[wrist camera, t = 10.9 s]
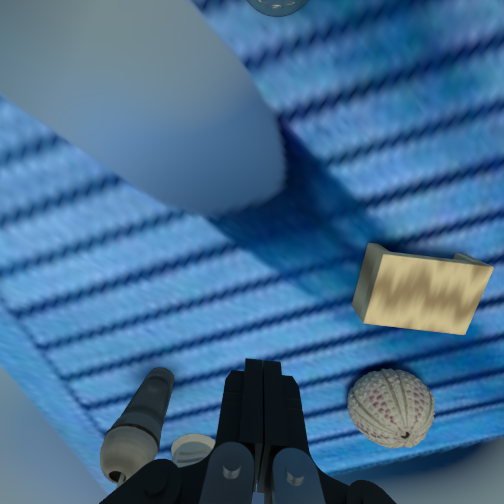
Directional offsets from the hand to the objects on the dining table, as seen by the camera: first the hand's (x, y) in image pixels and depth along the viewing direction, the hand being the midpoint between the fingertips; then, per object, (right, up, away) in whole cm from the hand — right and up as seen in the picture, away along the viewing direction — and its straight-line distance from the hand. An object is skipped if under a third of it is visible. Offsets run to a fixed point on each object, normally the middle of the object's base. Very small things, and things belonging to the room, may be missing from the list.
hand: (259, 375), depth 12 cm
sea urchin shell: (+22, -19, +35) cm, 46 cm away
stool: (+15, +1, +26) cm, 30 cm away
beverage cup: (-16, -16, +35) cm, 42 cm away
